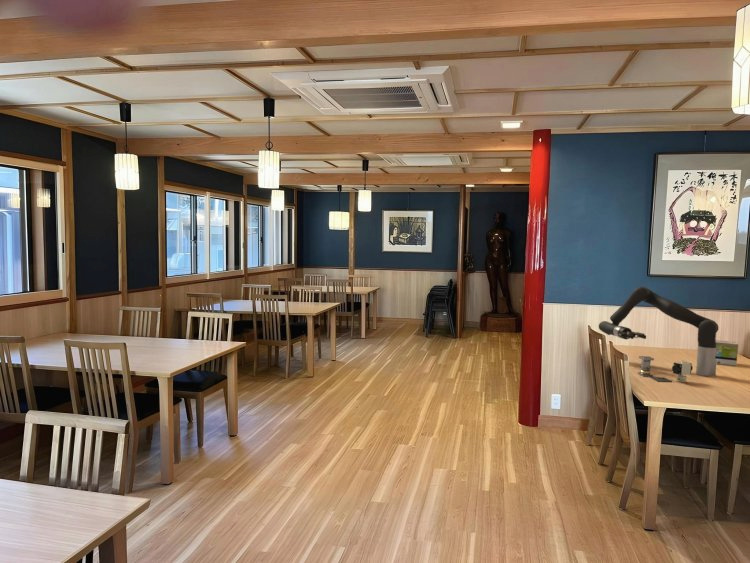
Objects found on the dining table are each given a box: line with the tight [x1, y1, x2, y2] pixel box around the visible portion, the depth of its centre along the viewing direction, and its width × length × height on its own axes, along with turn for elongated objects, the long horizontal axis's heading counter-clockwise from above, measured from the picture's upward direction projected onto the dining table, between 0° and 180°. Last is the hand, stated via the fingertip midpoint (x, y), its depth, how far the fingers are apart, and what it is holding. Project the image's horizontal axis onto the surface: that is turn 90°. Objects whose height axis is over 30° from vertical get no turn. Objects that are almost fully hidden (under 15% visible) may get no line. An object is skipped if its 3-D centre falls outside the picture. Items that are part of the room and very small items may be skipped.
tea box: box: [715, 339, 739, 366], centre depth 360 cm, size 15×10×15 cm, turn 68°
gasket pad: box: [649, 376, 673, 383], centre depth 310 cm, size 8×8×1 cm
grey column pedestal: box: [637, 355, 655, 378], centre depth 320 cm, size 6×6×11 cm
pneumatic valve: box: [671, 360, 694, 383], centre depth 307 cm, size 6×12×12 cm, turn 115°
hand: (639, 337), depth 330 cm, fingers open, 8 cm apart
